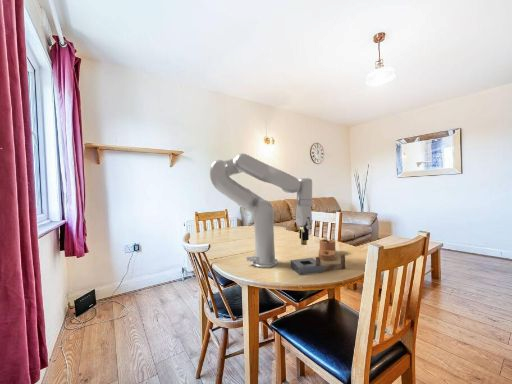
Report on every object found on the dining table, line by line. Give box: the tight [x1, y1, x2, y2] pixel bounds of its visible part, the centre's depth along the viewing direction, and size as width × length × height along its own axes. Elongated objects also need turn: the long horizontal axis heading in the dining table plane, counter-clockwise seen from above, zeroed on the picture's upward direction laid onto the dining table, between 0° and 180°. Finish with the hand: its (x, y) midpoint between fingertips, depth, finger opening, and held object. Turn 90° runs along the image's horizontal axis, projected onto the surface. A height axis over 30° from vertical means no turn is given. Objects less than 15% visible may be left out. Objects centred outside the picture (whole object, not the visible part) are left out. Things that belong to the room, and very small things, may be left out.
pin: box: [300, 225, 308, 246], centre depth 117 cm, size 3×3×10 cm
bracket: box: [318, 238, 336, 262], centre depth 125 cm, size 18×8×7 cm, turn 161°
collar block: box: [290, 257, 324, 276], centre depth 106 cm, size 11×11×3 cm
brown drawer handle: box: [315, 254, 347, 272], centre depth 104 cm, size 14×2×6 cm, turn 101°
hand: (303, 238), depth 117 cm, fingers closed on pin, 2 cm apart
